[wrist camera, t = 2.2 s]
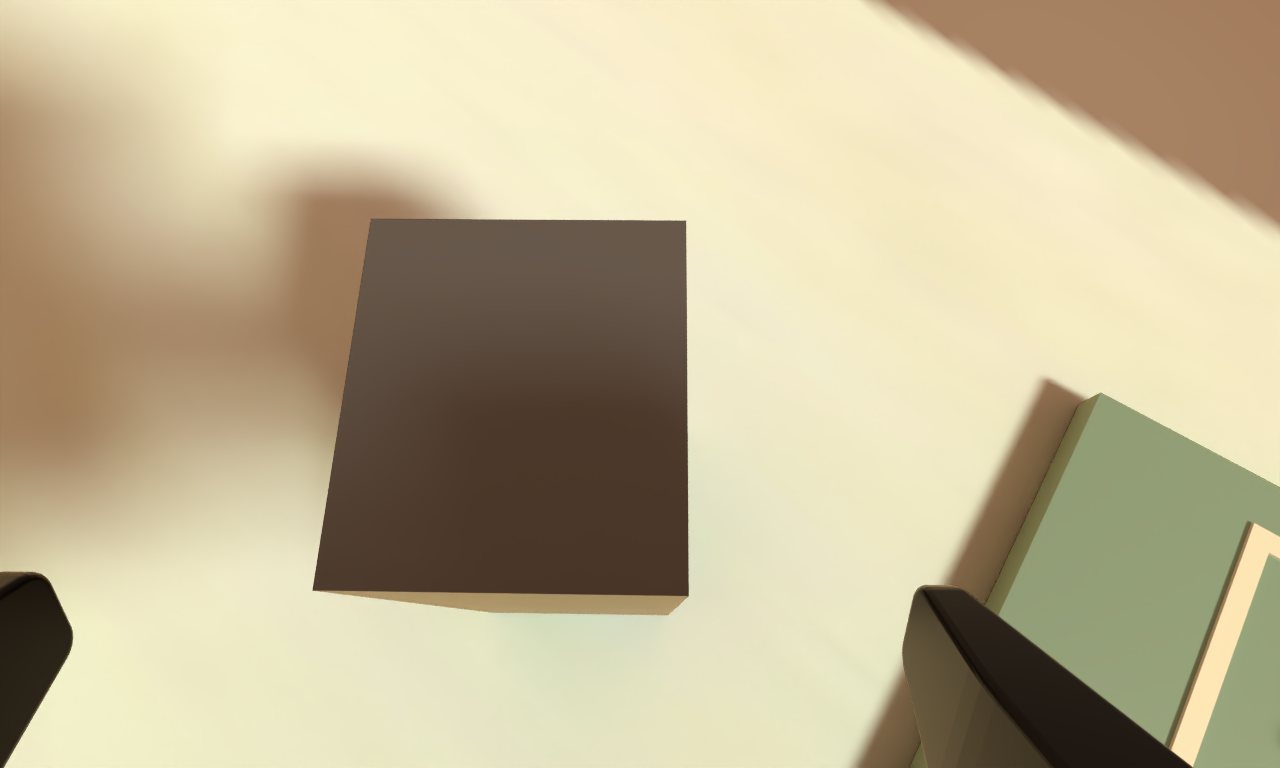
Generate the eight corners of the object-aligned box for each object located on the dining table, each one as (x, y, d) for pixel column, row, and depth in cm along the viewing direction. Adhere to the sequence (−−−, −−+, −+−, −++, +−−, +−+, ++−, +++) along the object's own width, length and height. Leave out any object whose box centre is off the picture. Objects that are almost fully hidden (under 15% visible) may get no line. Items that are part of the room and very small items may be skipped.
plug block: (668, 615, 18) (688, 596, 8) (491, 612, 18) (312, 590, 8) (668, 421, 19) (686, 220, 10) (506, 419, 20) (371, 218, 10)
